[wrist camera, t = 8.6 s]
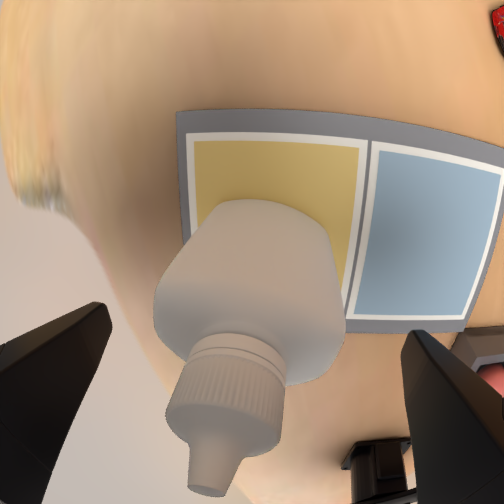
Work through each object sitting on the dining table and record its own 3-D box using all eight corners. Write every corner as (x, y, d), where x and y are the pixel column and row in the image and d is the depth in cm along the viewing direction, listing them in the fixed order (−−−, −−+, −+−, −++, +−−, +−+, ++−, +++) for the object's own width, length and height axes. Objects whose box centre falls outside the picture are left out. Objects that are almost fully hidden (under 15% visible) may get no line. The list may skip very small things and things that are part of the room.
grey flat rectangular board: (459, 326, 16) (463, 332, 16) (195, 314, 18) (191, 321, 18) (507, 150, 11) (514, 152, 11) (180, 111, 13) (175, 111, 13)
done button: (489, 389, 15) (497, 407, 14) (460, 394, 16) (468, 415, 14) (508, 360, 14) (519, 378, 12) (479, 364, 14) (490, 385, 13)
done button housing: (482, 375, 18) (494, 400, 16) (433, 382, 19) (442, 410, 16) (511, 325, 16) (527, 349, 13) (460, 328, 16) (477, 357, 14)
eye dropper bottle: (279, 294, 16) (245, 526, 5) (198, 226, 15) (49, 432, 4) (340, 242, 14) (393, 498, 4) (255, 161, 13) (102, 364, 3)
